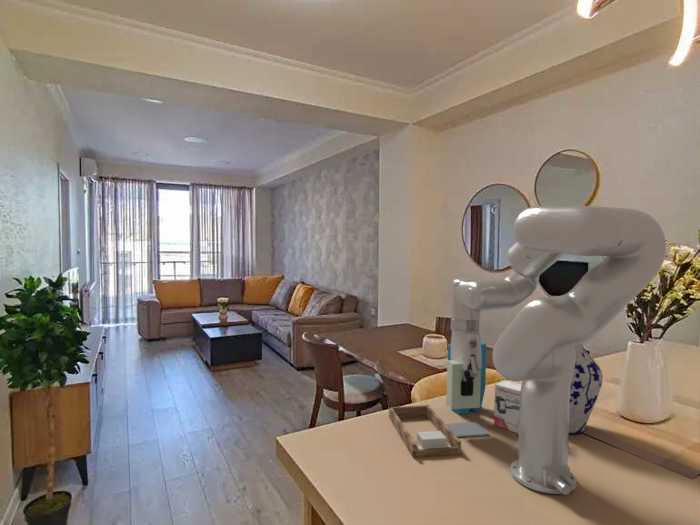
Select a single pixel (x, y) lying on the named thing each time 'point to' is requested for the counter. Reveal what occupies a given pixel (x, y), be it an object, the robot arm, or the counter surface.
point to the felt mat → (467, 429)
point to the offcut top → (431, 439)
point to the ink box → (507, 405)
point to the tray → (435, 420)
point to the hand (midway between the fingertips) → (463, 391)
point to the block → (483, 378)
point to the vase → (583, 390)
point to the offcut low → (428, 447)
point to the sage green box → (454, 388)
